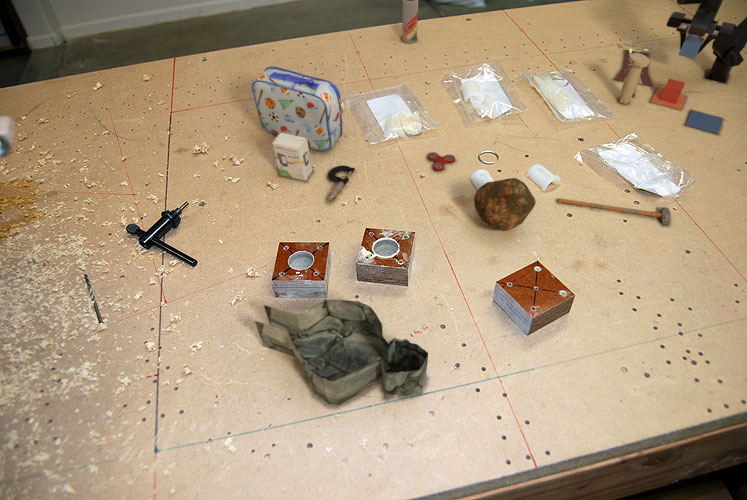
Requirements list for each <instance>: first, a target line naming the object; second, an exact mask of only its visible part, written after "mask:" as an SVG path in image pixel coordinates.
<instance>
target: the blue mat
mask: <svg viewBox="0 0 747 500" xmlns="http://www.w3.org/2000/svg"><path fill="white" fill-rule="evenodd" d="M723 120H724V118H723V117H722V116H721V117H720V116H717V115H712V114H709V113H704V112H701V111H698V110H693V109H691V110H690V113H689V115H688V118H687V120H686V123H685V126H686V127H688V128H689V127H690V128H694V129H697V130H700V131H704V132H707V133H712V134H715V135H718V134H719V131H720V129H721V126H722V122H723Z"/></svg>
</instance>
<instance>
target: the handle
mask: <svg viewBox="0 0 747 500" xmlns="http://www.w3.org/2000/svg"><path fill="white" fill-rule="evenodd" d="M629 61H630V63H631V67H630V70H629V72H628V75H627V77H626V79H625V81H623V84H622V87H621V89H620V92H619V98H618V101H619V103H620V104H622V105H623V104H624V105H626V104H629V103H630V102H631V99H632V97H634V96H633V94H634V95H635V92H636V89H637V86H638V80H639V77H640V74H641V71H642V68H643V67H647V66H648V67H649V66H650V63H651V59H650V58H649V56H648V57H646V56H645V55H643V54H640V53H633V54H630V56H629Z"/></svg>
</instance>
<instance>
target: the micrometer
mask: <svg viewBox="0 0 747 500" xmlns="http://www.w3.org/2000/svg"><path fill="white" fill-rule="evenodd" d="M355 171H356V169H355V168H354V167H351V166H348V165H338V166H335V167H333V168H332V169H330V170H329V172H328V174H327V177H328V179H329V181H331V182H333V183H336V184H335V185H334V187H333V188H332V189H331V190H330V192H329V193H328V197H326V201H327V202H328V203H331V202H332V201H334V200H336V198H337V197H338V195H339V194H340V193H341V192H342V190H343V189H344V187H346V185H347V184H348V182H349V180H350V179H349V178H350V176H351V175H352V174H354V172H355ZM339 172H347V174H346V175H341V176H337V173H339Z"/></svg>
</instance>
